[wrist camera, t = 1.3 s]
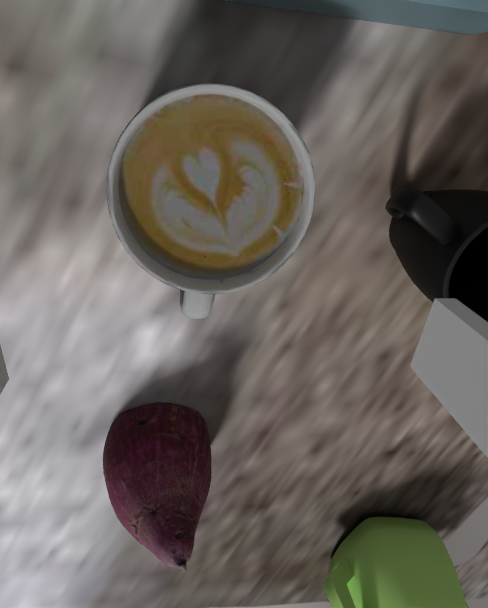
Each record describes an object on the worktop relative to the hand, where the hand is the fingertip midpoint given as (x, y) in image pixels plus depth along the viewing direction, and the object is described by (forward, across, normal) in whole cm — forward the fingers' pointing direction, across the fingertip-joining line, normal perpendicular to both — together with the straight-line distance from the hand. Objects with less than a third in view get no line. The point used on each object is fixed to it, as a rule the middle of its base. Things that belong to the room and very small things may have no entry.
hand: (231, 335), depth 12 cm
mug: (+19, +17, -1) cm, 25 cm away
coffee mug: (+19, 0, 0) cm, 19 cm away
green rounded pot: (+19, +26, -50) cm, 59 cm away
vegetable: (+19, -3, -25) cm, 31 cm away
